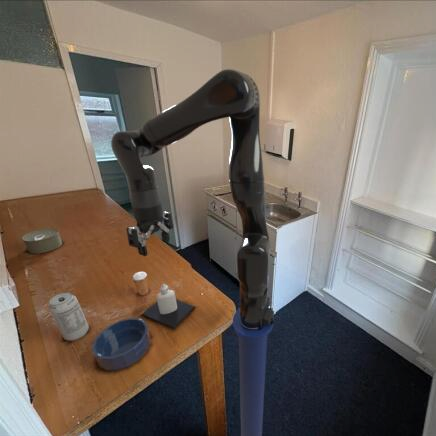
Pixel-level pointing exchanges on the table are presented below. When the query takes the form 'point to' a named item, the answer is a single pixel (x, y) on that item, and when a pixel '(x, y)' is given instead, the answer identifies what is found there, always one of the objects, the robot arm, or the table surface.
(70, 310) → the energy drink can
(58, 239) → the can
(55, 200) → the table surface
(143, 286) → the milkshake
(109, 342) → the bowl
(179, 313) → the mat
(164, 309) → the eye dropper bottle
